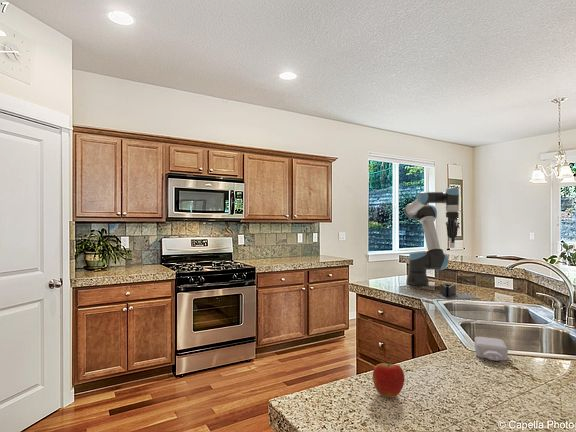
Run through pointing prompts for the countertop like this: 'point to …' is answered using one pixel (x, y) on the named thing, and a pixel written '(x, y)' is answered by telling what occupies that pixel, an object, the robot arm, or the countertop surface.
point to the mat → (457, 296)
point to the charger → (491, 348)
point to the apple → (388, 379)
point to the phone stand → (447, 290)
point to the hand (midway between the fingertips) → (451, 247)
